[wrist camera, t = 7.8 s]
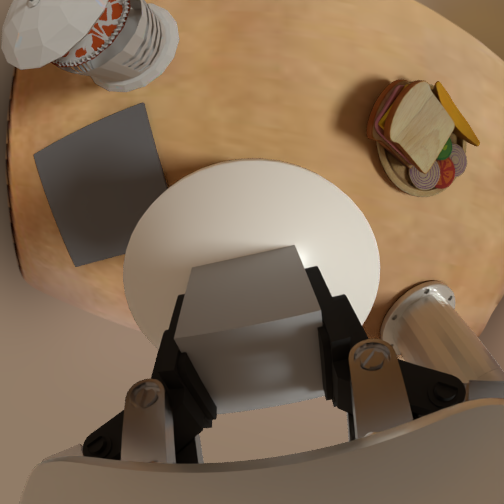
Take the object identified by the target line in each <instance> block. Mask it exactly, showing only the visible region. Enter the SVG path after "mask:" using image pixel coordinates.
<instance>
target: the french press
mask: <svg viewBox="0 0 504 504" xmlns="http://www.w3.org/2000/svg"><path fill="white" fill-rule="evenodd" d="M178 42H179V35H178V28H177V23H176V21H175V20H174V19H173V17H172V16H171V15H170V13H169V12H168V11H167V10H165V9H163V8H161V7H159V6H156V5H154V4H147V3H146V2H145V1H144V0H13V2H12V4H11V6H10V8H9V11H8V13H7V16H6V19H5V22H4V25H3V28H2V46H1V48H2V51H3V53H4V55H5V58H6V60H7V62H8V63H9V64H11V65H13V66H15V67H17V68H19V69H20V70H23V69H32V68H41V67H43V66H45V65H47V64H48V63H52V64H54V65H56V66H57V67H59V68H61V69H63V70H65V71H68V72H71V73H75V74H81V75H86V76H91V78H92V79H93V81H94V82H95V84H97V85H99V86H101V87H103V88H104V89H106V90H108V91H117V92H128V91H131V90H134V89H138V88H141V87H144V86H146V85H147V84H149V83H150V82H151V81H153V80H154V79H155V78H157V77H158V76H160V75H161V74H162V73H163V72H164V70H165V69H166V67H167V66H168V65H169V63H170V62H171V61H172V59H173V58H174V55H175V52H176V48H177V45H178ZM85 63H86V64H85ZM81 64H83V65H84V67H85V68H86V69H87V71H88V72H86V71H85V69H84V68H83V67H82V66H81ZM77 66H79V67H80V68H81V70H82V71H83V72H82V71H80V70H79V69H78V68H77ZM71 67H74V69H75V70H77V71H79V72H80V73H78V72H76V71H75V70H73V69H71Z"/></svg>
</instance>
